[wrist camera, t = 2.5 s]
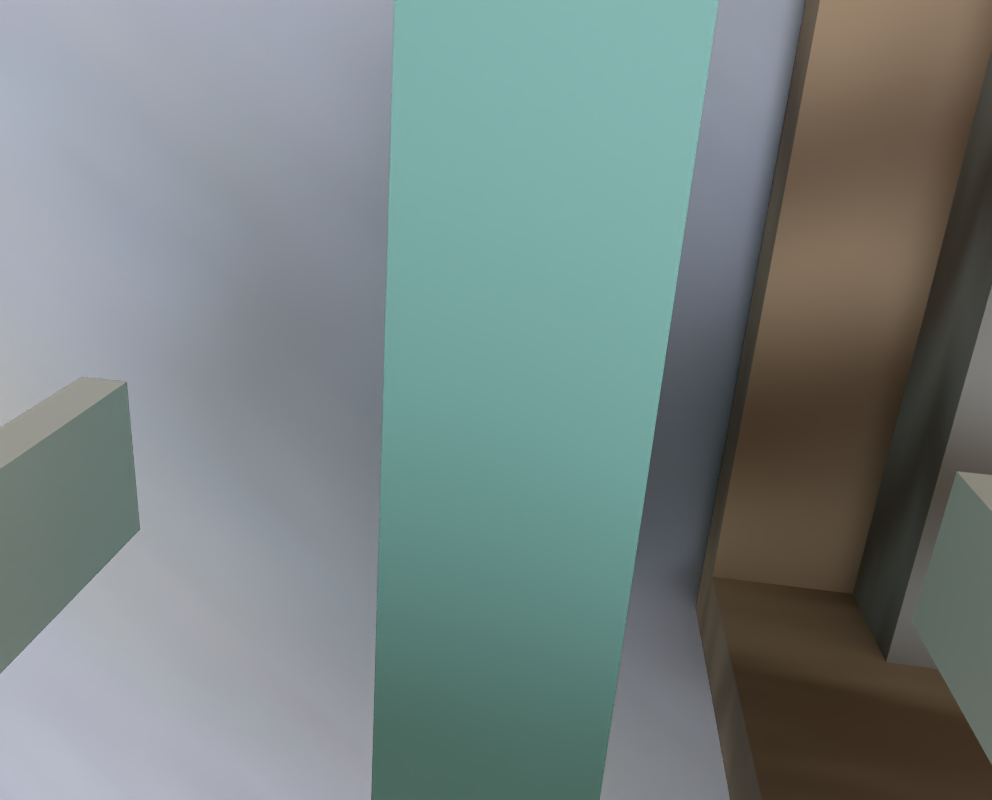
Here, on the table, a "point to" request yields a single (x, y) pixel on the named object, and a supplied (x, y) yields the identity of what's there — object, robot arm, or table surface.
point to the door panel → (523, 376)
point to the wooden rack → (857, 413)
